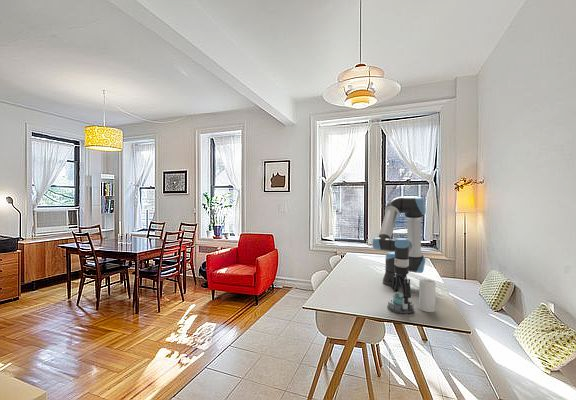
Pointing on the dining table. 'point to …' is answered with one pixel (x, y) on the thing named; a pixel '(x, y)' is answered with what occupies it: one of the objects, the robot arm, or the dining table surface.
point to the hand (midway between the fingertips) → (400, 306)
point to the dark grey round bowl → (397, 308)
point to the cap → (398, 300)
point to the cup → (427, 295)
